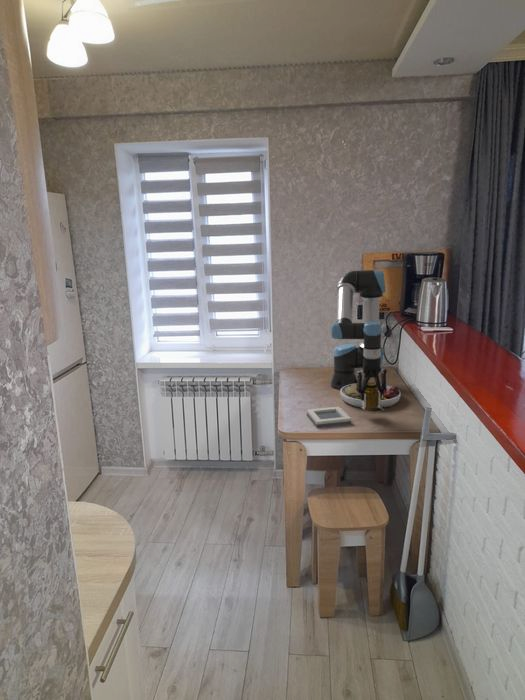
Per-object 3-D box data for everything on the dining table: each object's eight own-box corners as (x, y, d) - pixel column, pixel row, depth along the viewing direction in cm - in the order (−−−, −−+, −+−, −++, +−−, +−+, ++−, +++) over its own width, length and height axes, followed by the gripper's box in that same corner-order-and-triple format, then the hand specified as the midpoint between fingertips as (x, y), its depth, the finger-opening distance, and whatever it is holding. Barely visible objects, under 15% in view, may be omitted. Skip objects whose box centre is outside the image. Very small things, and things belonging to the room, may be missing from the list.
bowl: (341, 410, 227) (341, 394, 225) (339, 391, 256) (339, 377, 254) (404, 411, 223) (405, 395, 221) (395, 391, 252) (396, 377, 250)
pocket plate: (306, 415, 221) (306, 409, 221) (338, 411, 224) (338, 406, 224) (316, 427, 206) (316, 422, 205) (351, 424, 209) (351, 418, 208)
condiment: (360, 407, 217) (361, 382, 214) (377, 405, 219) (377, 380, 216) (367, 412, 210) (368, 387, 207) (385, 410, 212) (385, 385, 209)
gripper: (354, 361, 203) (354, 411, 208) (395, 357, 206) (394, 406, 212) (348, 356, 210) (348, 405, 216) (388, 353, 213) (386, 401, 219)
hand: (370, 405), depth 214 cm, fingers closed on condiment, 6 cm apart
